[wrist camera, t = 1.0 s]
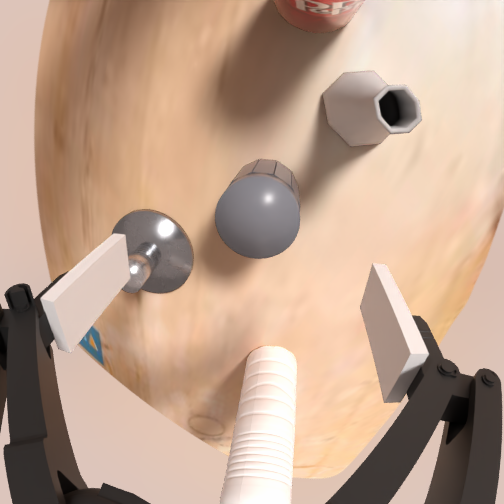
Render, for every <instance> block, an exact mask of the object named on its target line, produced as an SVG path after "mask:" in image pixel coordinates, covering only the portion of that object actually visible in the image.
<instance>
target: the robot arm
mask: <svg viewBox="0 0 504 504" xmlns="http://www.w3.org/2000/svg"><path fill="white" fill-rule="evenodd" d="M129 279H130V270H129V262H128V254H127V245H126V235H124V234H115V233H114V234H112V235H111V236H110V237H109V238H108V239H106V240H105V241H104V242H103V243H102V244H100V245H99V246H98V247H97V248H96V249H94V250H93V251H92V252H91V253H90V254H89V255H87V256H86V257H85V258H84V259H83V260H82V261H80V262H79V263H78V264H77V265H76V266H75V267H74V268H72V269H71V270H70V271H69V272H66V273H64V274H62V275H60V276H59V277H57V278H56V279H55V280H54V281H53V283H51V284H50V285H49V286H48V287H46V288H45V290H43V291H42V292H41V293H40V294H39V295H38V296H37V297H36V298H35V299H34V298H33V296H32V292H31V289H30V286H29V285H28V284H17V285H14V286H12V287H10V288H9V289H8V290H7V291H6V293H5V298H6V301H7V303H8V306H9V309H2V307H1V304H0V431H1V425H2V419H3V413H4V408H5V402H6V398H7V409H8V423H9V433H10V444H8V445H5V446H4V460H5V467H6V472H7V478H8V484H9V489H10V494H11V498H12V503H13V504H150V503H148V502H147V501H145V500H143V499H141V498H140V497H138V496H136V495H135V494H133V493H130V492H127V491H124V490H121V489H118V488H116V487H113V486H110V485H108V484H105V483H103V484H102V487H101V489H99V488H88V487H87V485H86V484H85V482H84V480H83V479H82V477H81V475H80V472H79V469H78V466H77V463H76V460H75V457H74V453H73V450H72V446H71V443H70V439H69V435H68V431H67V427H66V423H65V419H64V414H63V410H62V405H61V400H60V395H59V389H58V384H57V378H56V372H55V365H54V358H53V350H52V347H51V345H50V344H51V342H52V341H53V340H54V339H55V341H56V344H57V346H58V349H60V350H63V351H66V352H69V353H72V351H73V350H74V349H75V347H76V346H77V345H78V343H79V342H80V341H81V339H82V338H83V337H84V336H85V334H86V333H87V332H88V330H89V329H90V328H91V326H92V325H93V324H94V323H95V321H96V320H97V319H98V317H99V316H100V315H101V314H102V312H103V311H104V310H105V309H106V307H107V306H108V305H109V304H110V302H111V301H112V300H113V299H114V298H115V296H116V295H117V294H118V293H119V291H120V290H121V289H122V288H123V287H124V285H125V284H126V283H127V282H128V281H129ZM360 309H361V313H362V316H363V320H364V323H365V327H366V331H367V334H368V338H369V342H370V346H371V350H372V354H373V358H374V362H375V366H376V370H377V374H378V378H379V383H380V387H381V391H382V396H383V401H384V403H393V402H401V401H402V399H403V398H404V396H405V395H406V393H407V396H408V399H409V401H408V403H407V404H406V406H405V407H404V409H403V410H402V412H401V413H400V415H399V416H398V417H397V419H396V420H395V422H394V423H393V425H392V426H391V427H390V429H389V430H388V431H387V433H386V434H385V435H384V437H383V438H382V439H381V441H380V442H379V443H378V445H377V446H376V447H375V448H374V450H373V451H372V452H371V453H370V455H369V456H368V457H367V458H366V460H365V461H364V462H363V463H362V464H361V466H360V467H359V468H358V469H357V470H356V472H355V473H354V474H353V475H352V476H351V477H350V478H349V479H348V481H347V482H346V483H345V484H344V485H343V486H342V487H341V488H340V489H339V490H338V491H337V492H336V494H334V495H333V497H331V499H329V500H328V502H326V503H325V504H388V503H389V502H390V500H391V499H392V498H393V496H394V495H395V494H396V492H397V491H398V489H399V487H400V486H401V485H402V483H403V482H404V481H405V479H406V477H407V476H408V475H409V473H410V471H411V470H412V468H413V466H414V465H415V464H416V462H417V460H418V459H419V457H420V455H421V453H422V452H423V450H424V448H425V447H426V445H427V443H428V441H429V440H430V438H431V436H432V434H433V432H434V430H435V429H436V426H437V425H438V423H439V421H440V420H442V421H445V425H444V430H443V435H442V440H441V445H440V449H439V454H438V458H437V462H436V466H435V470H434V473H433V478H432V481H431V484H430V488H429V491H428V494H427V498H426V500H425V503H424V504H495V499H496V493H497V486H498V479H499V470H500V459H501V443H502V392H501V382H500V379H499V377H498V376H497V374H496V373H494V372H493V371H491V370H489V369H485V368H483V369H480V370H478V371H477V373H476V374H475V376H474V377H473V376H468V375H465V374H461V373H460V372H459V369H458V367H457V366H456V365H455V364H454V363H453V362H451V361H450V360H447V359H444V358H443V356H442V353H441V351H440V350H439V347H438V345H437V343H436V341H435V339H434V337H433V335H432V332H431V330H430V328H429V326H428V324H427V323H426V322H425V321H424V320H423V319H422V318H421V317H420V316H412V315H411V313H410V311H409V309H408V307H407V305H406V303H405V301H404V299H403V297H402V295H401V293H400V291H399V289H398V287H397V285H396V283H395V281H394V279H393V277H392V275H391V273H390V271H389V269H388V267H387V266H386V265H384V264H376V263H372V267H371V271H370V274H369V278H368V282H367V285H366V289H365V292H364V295H363V299H362V302H361V305H360Z"/></svg>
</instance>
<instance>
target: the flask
mask: <svg viewBox="0 0 504 504" xmlns="http://www.w3.org/2000/svg"><path fill="white" fill-rule="evenodd" d="M322 94H323V99H324V104H325V110H326V115H327V121H328V125H329V126H330V127H331V128H332V129H333V130H335V131H336V132H337V133H338V134H339V135H340V136H341V137H342V138H343V139H344V140H345V141H346V142H347V144H348V145H349V146H350V147H353V146H362V145H371V144H380V143H381V142H382V141H383V140H384V139H385V138H386V137H387V136H388V135H389V134H400V133H410V132H411V131H412V130H413V129H414V128H415V127H416V126H417V125H418V124H419V123H420V122H421V121H422V117H421V109H420V102H419V100H418V98H417V97H416V96H415V95H414V94H413V92H412V91H411V90H410V89H409V88H408V87H407V86H406V85H387V84H386V82H385V81H384V80H383V79H382V78H381V77H380V76H379V75H378V74H377V73H376V72H375V71H360V72H347V73H343V74H342V75H341V76H340V77H339V78H338V79H337V80H336V81H335V82H334V83H333V84H332V85H331V86H330V87H329V88H328V89H327V90H326V91H324V92H323V93H322Z"/></svg>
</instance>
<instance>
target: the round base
mask: <svg viewBox="0 0 504 504" xmlns="http://www.w3.org/2000/svg"><path fill="white" fill-rule="evenodd" d="M114 233H115V234H124V235H126V245H127V254H128V262H129V270H130V279H129V281H128V282H127V283H126V284H125V285H124V287H123V288H122V290H124V291H126V292H128V293H135V292H138V291H139V290H140V288H141V289H143V290H146V291H149V292H153V293H166V292H170V291H173V290H175V289H177V288H179V287H180V286H181V285H182V284H184V282H185V281H186V280H187V278H188V276H189V275H190V273H191V270H192V267H193V261H194V256H193V249H192V245H191V242H190V240H189V238H188V236H187V234H186V233H185V231H184V230H183V229H182V227H181V226H180V225H179V224H178V223H177V222H176V221H174V220H173V219H172V218H170V217H169V216H167V215H165V214H163V213H161V212H158V211H154V210H148V209H142V210H136V211H133V212H131V213H129V214H127V215H126V216H124V217H123V218H122V219H121V220H120V221H119V222H118V223H117V224H116V226H115V227H114V229H113V232H112V234H114Z"/></svg>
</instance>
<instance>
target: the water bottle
mask: <svg viewBox="0 0 504 504" xmlns="http://www.w3.org/2000/svg"><path fill="white" fill-rule="evenodd" d="M296 376H297V362H296V358H295V356H294V355H293V354H292V353H291V352H290V351H287V350H286V349H285V348H282V347H279V346H274V347H273V346H262V347H260V348H258V349H255V350H253V351H252V352H251V353H250V354H249V356H248V358H247V362H246V367H245V375H244V379H243V386H242V390H241V396H240V397H241V399H240V401H239V406H238V412H237V416H236V424H235V427H234V431H233V438H232V444H231V449H230V455H229V459H228V464H227V470H226V476H225V479H224V481H225V482H224V485H223V488H222V492H221V497H220V504H291V487H292V472H293V468H292V467H293V453H294V440H295V429H294V428H295V412H296V405H295V402H296Z"/></svg>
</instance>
